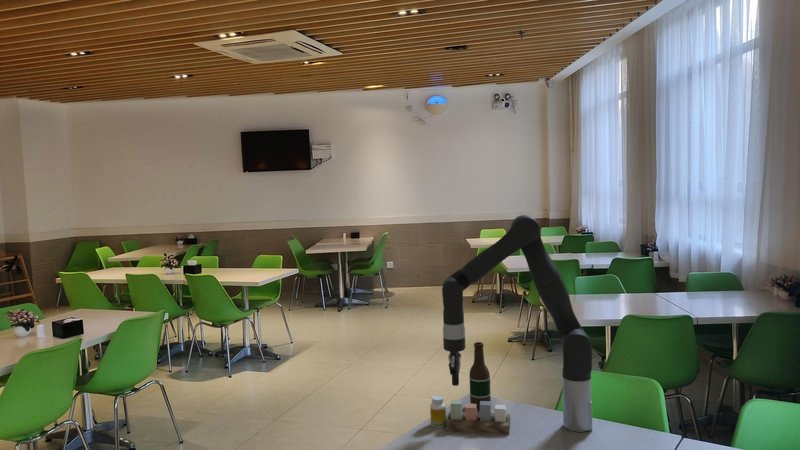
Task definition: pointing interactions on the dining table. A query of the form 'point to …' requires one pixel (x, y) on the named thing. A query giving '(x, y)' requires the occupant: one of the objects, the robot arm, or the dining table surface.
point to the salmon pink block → (471, 412)
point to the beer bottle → (479, 377)
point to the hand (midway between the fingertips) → (455, 384)
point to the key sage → (456, 410)
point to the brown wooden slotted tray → (478, 425)
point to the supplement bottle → (438, 412)
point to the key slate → (485, 411)
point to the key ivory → (500, 413)
